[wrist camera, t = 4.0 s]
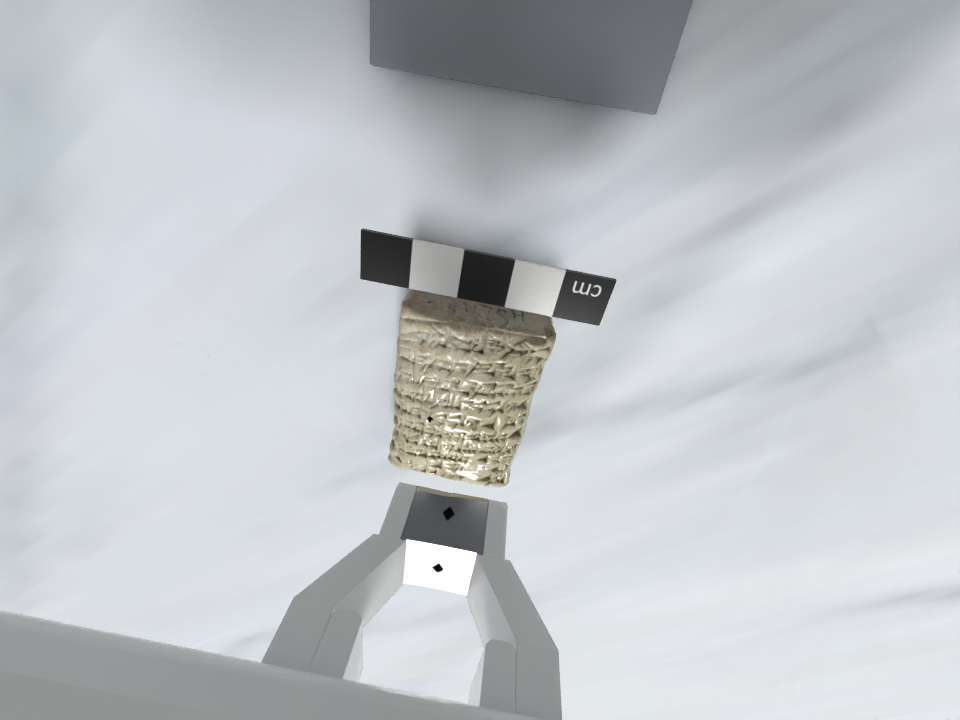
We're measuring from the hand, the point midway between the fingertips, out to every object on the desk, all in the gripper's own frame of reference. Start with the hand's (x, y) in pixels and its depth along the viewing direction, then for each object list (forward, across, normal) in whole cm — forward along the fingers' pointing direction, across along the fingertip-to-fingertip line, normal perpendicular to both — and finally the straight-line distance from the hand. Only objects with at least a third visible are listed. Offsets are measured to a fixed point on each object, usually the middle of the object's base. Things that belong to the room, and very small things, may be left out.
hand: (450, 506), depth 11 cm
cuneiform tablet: (+6, 0, -6) cm, 8 cm away
